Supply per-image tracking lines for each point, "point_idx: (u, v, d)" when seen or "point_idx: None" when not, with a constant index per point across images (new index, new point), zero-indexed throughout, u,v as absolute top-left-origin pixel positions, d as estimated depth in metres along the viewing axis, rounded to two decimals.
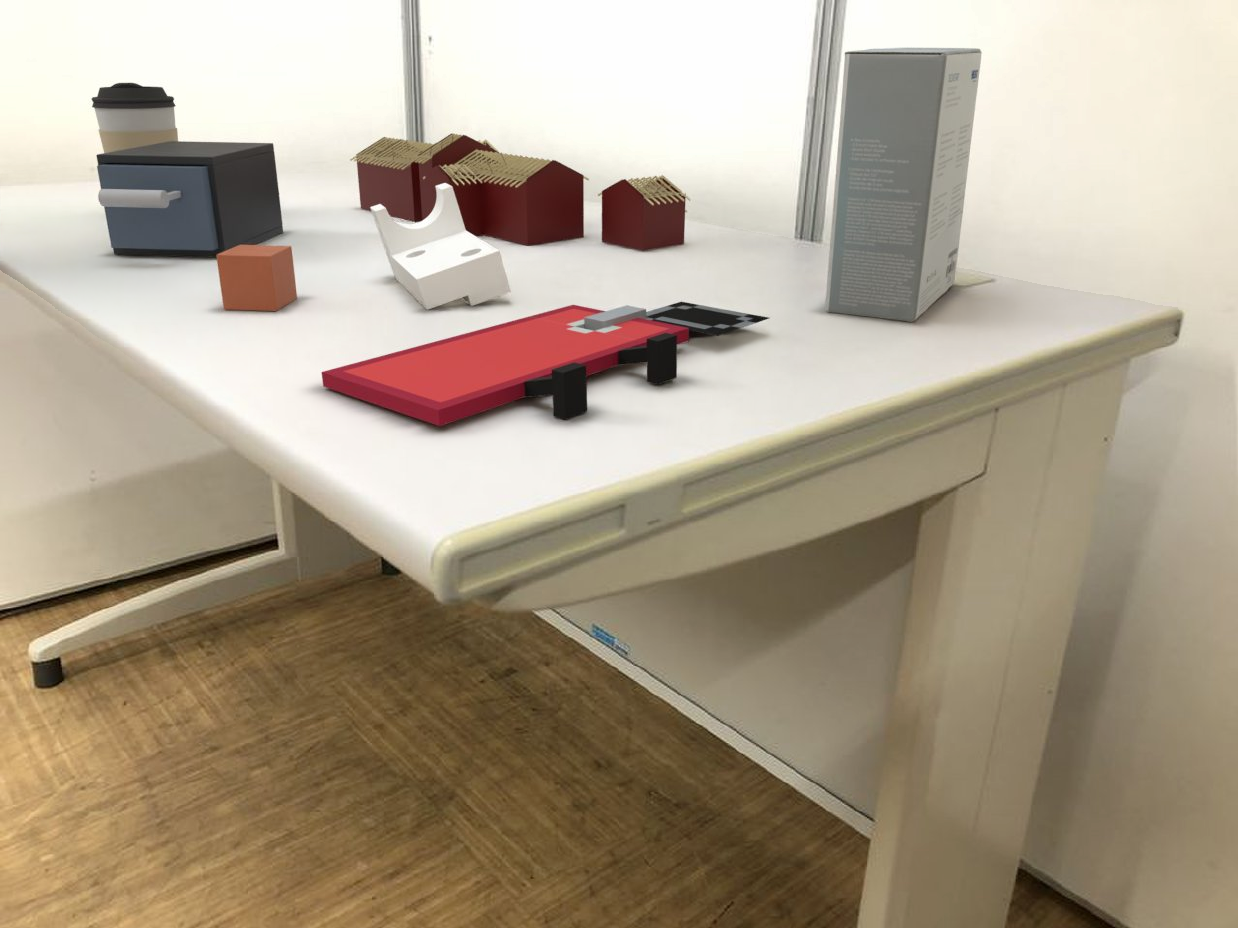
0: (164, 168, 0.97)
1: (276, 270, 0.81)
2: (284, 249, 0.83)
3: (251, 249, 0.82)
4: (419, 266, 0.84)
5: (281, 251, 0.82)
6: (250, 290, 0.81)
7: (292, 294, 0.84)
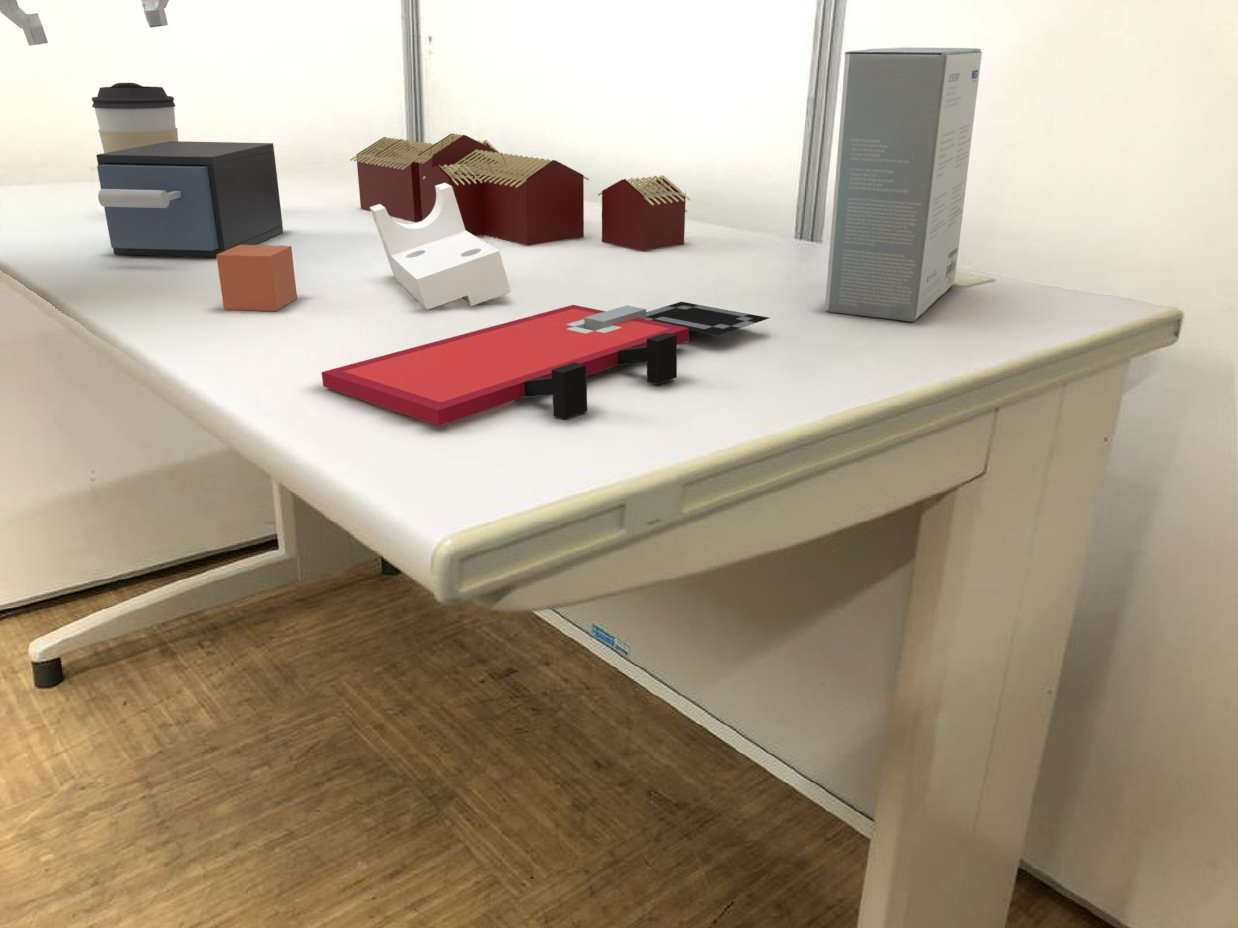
0: (164, 168, 0.97)
1: (276, 270, 0.81)
2: (284, 249, 0.83)
3: (251, 249, 0.82)
4: (419, 266, 0.84)
5: (281, 251, 0.82)
6: (250, 290, 0.81)
7: (292, 294, 0.84)
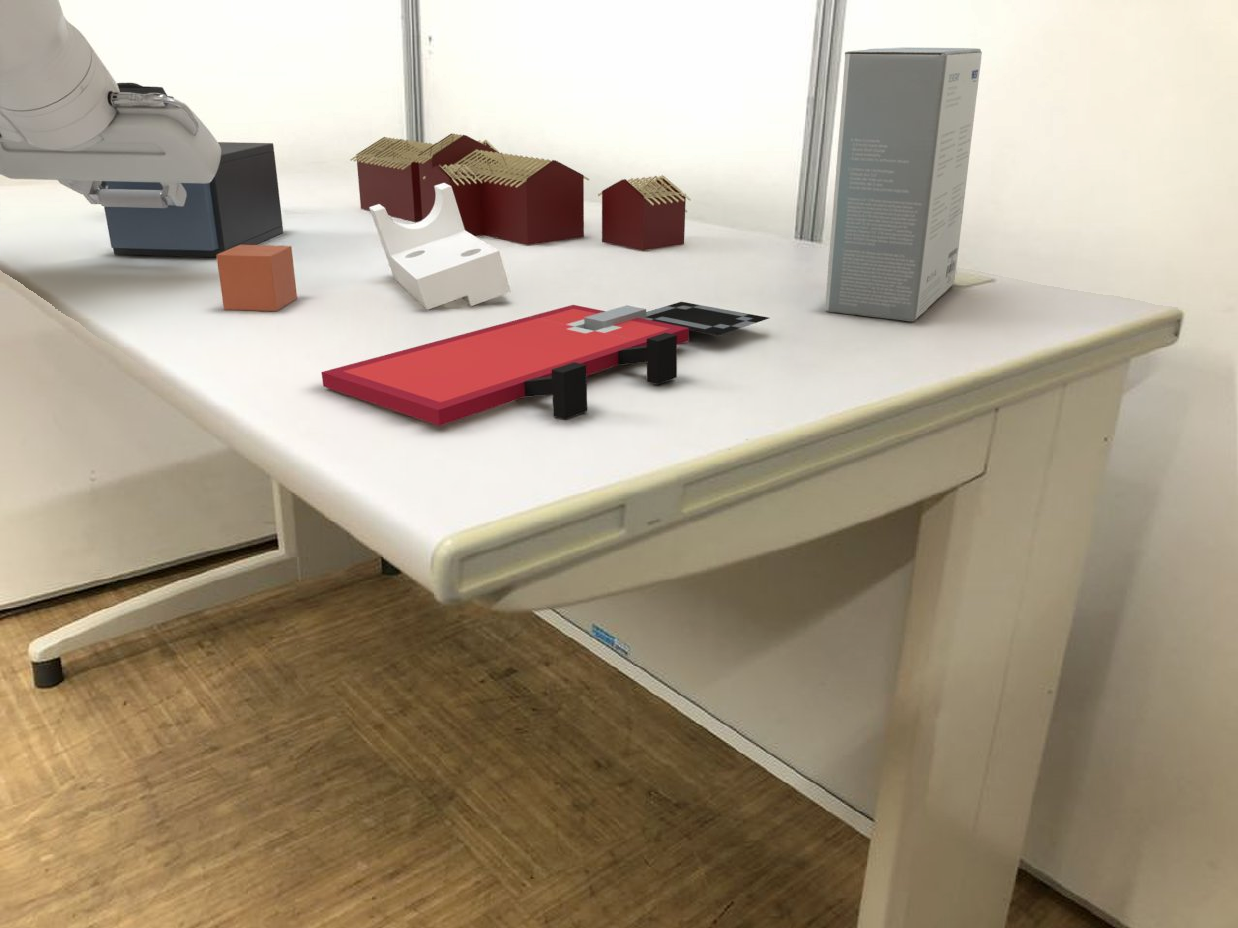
0: None
1: (276, 270, 0.81)
2: (284, 249, 0.83)
3: (251, 249, 0.82)
4: (419, 266, 0.84)
5: (281, 251, 0.82)
6: (250, 290, 0.81)
7: (292, 294, 0.84)
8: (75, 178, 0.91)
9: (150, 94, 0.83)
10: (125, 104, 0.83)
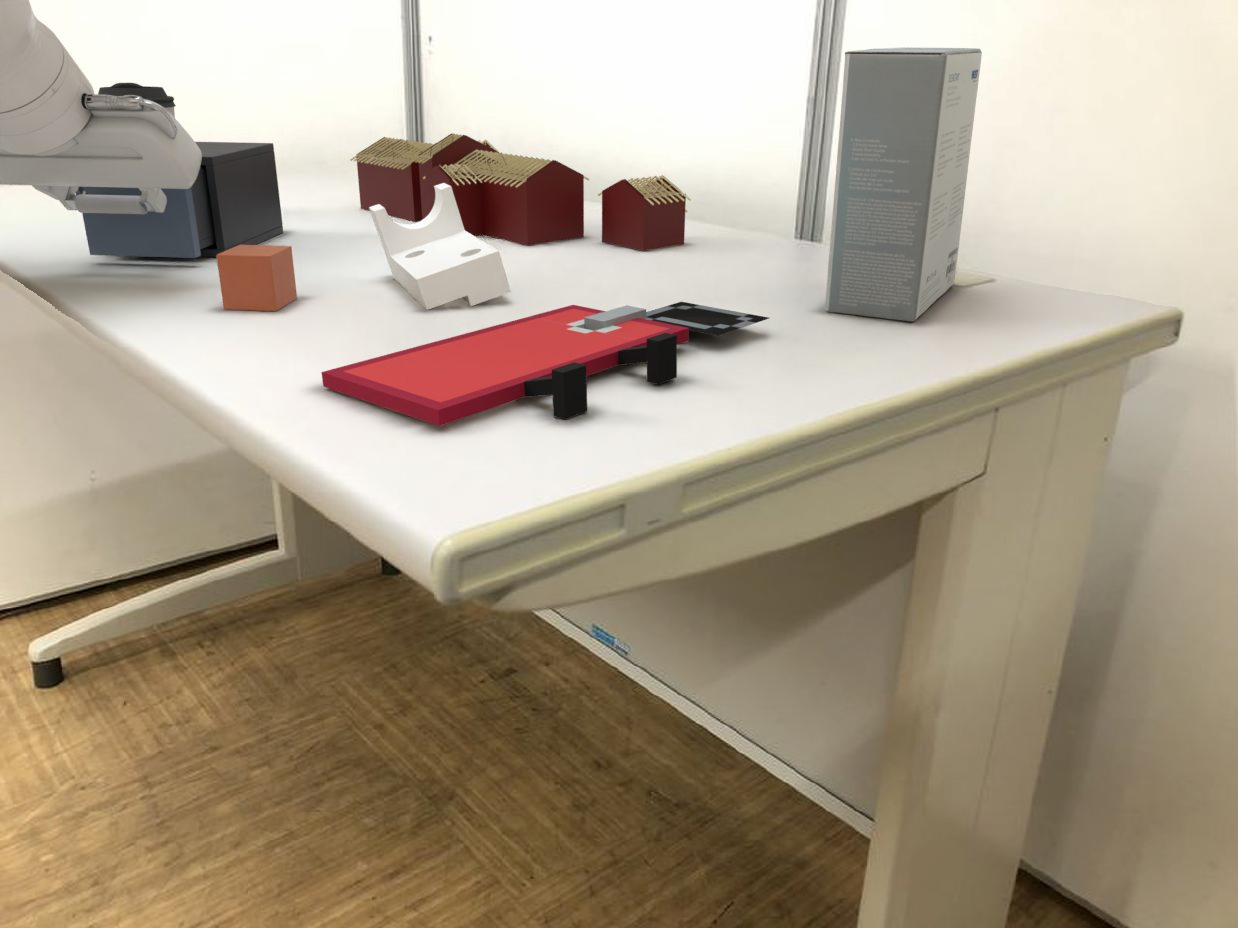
0: None
1: (276, 270, 0.81)
2: (284, 249, 0.83)
3: (251, 249, 0.82)
4: (419, 266, 0.84)
5: (281, 251, 0.82)
6: (250, 290, 0.81)
7: (292, 294, 0.84)
8: (50, 183, 0.87)
9: (126, 96, 0.79)
10: (100, 107, 0.80)
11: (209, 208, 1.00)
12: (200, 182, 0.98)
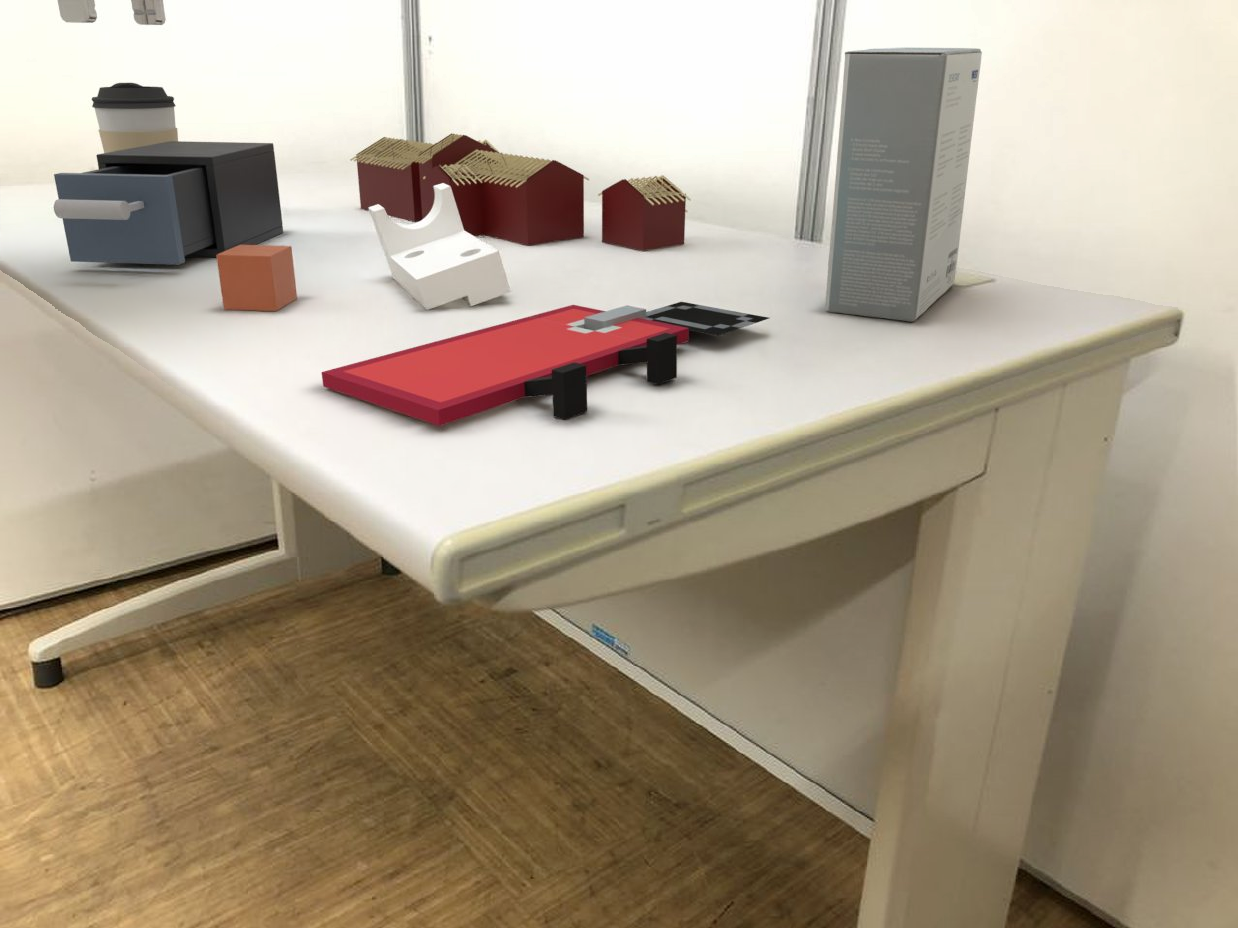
0: (125, 177, 0.91)
1: (276, 270, 0.81)
2: (284, 249, 0.83)
3: (251, 249, 0.82)
4: (418, 266, 0.84)
5: (281, 251, 0.82)
6: (250, 290, 0.81)
7: (292, 294, 0.84)
8: None
9: None
10: None
11: (194, 213, 0.97)
12: (184, 186, 0.95)
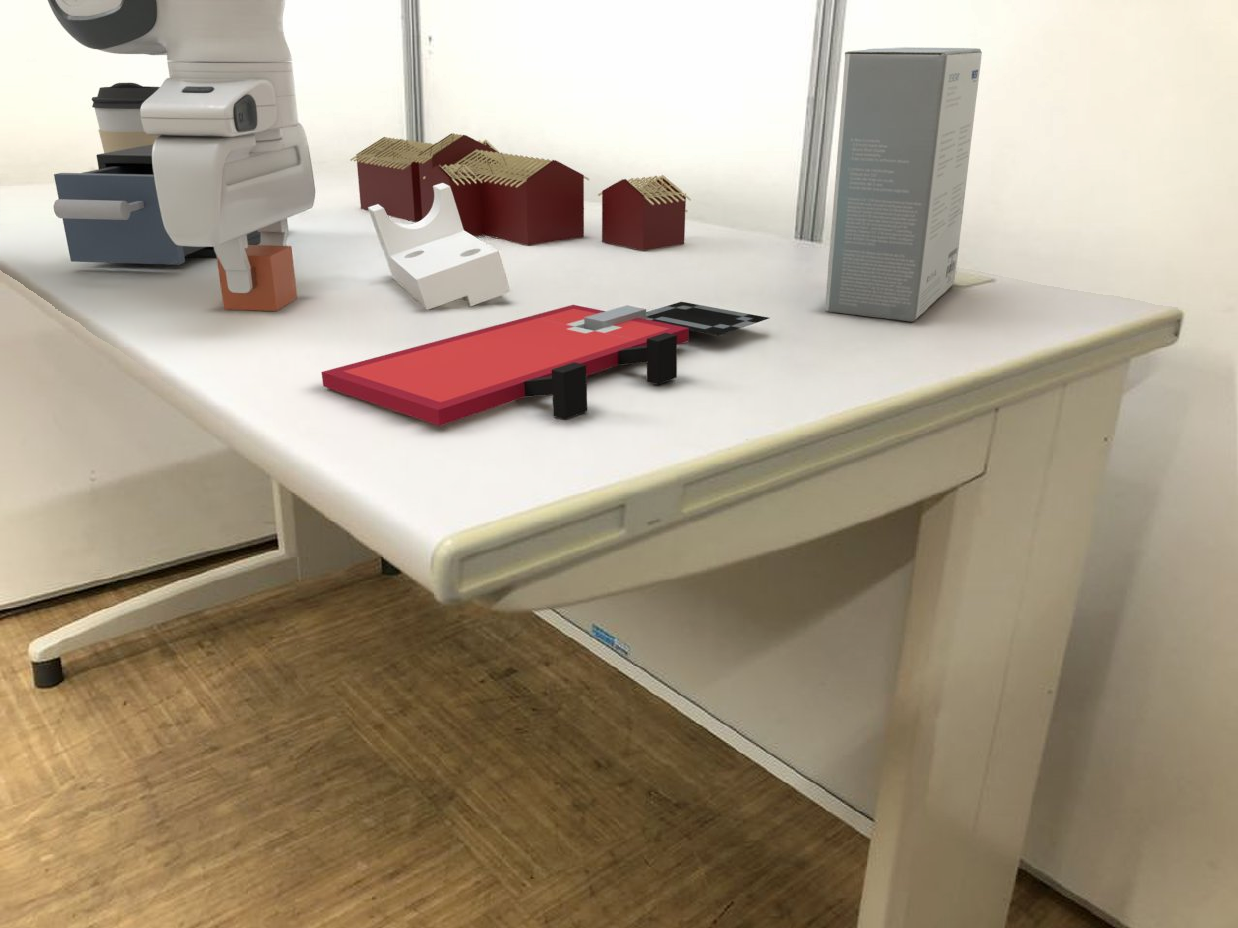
0: (125, 177, 0.91)
1: (276, 270, 0.81)
2: (284, 249, 0.83)
3: (251, 249, 0.82)
4: (418, 266, 0.84)
5: (281, 251, 0.82)
6: None
7: (292, 294, 0.84)
8: (256, 224, 0.78)
9: None
10: None
11: None
12: None
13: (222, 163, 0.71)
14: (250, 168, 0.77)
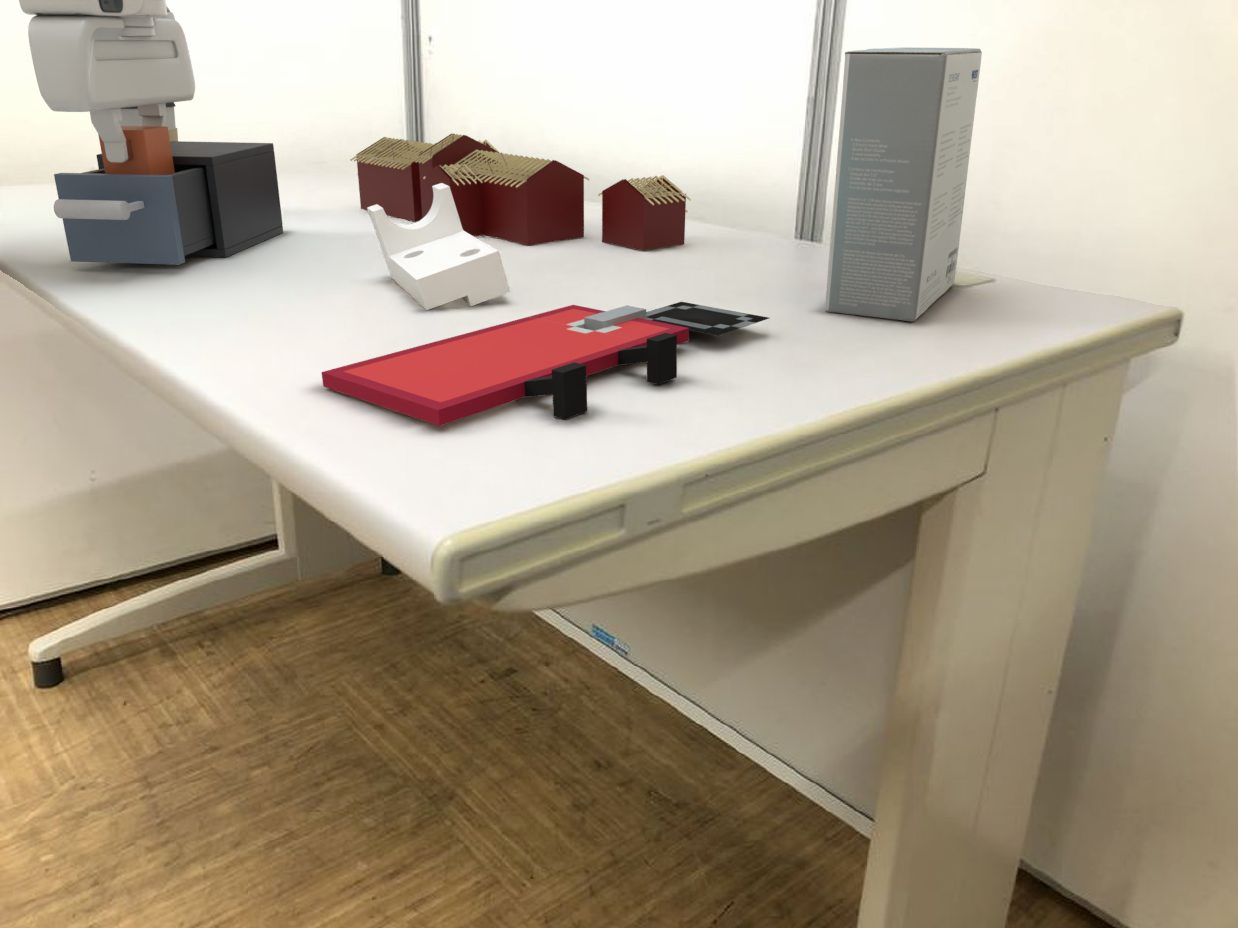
0: (125, 177, 0.91)
1: (151, 144, 0.93)
2: (160, 128, 0.95)
3: (130, 127, 0.94)
4: (418, 266, 0.84)
5: (156, 129, 0.94)
6: (128, 162, 0.93)
7: (169, 170, 0.96)
8: (129, 100, 0.90)
9: None
10: None
11: (194, 213, 0.97)
12: (184, 186, 0.95)
13: (88, 37, 0.83)
14: (122, 51, 0.89)
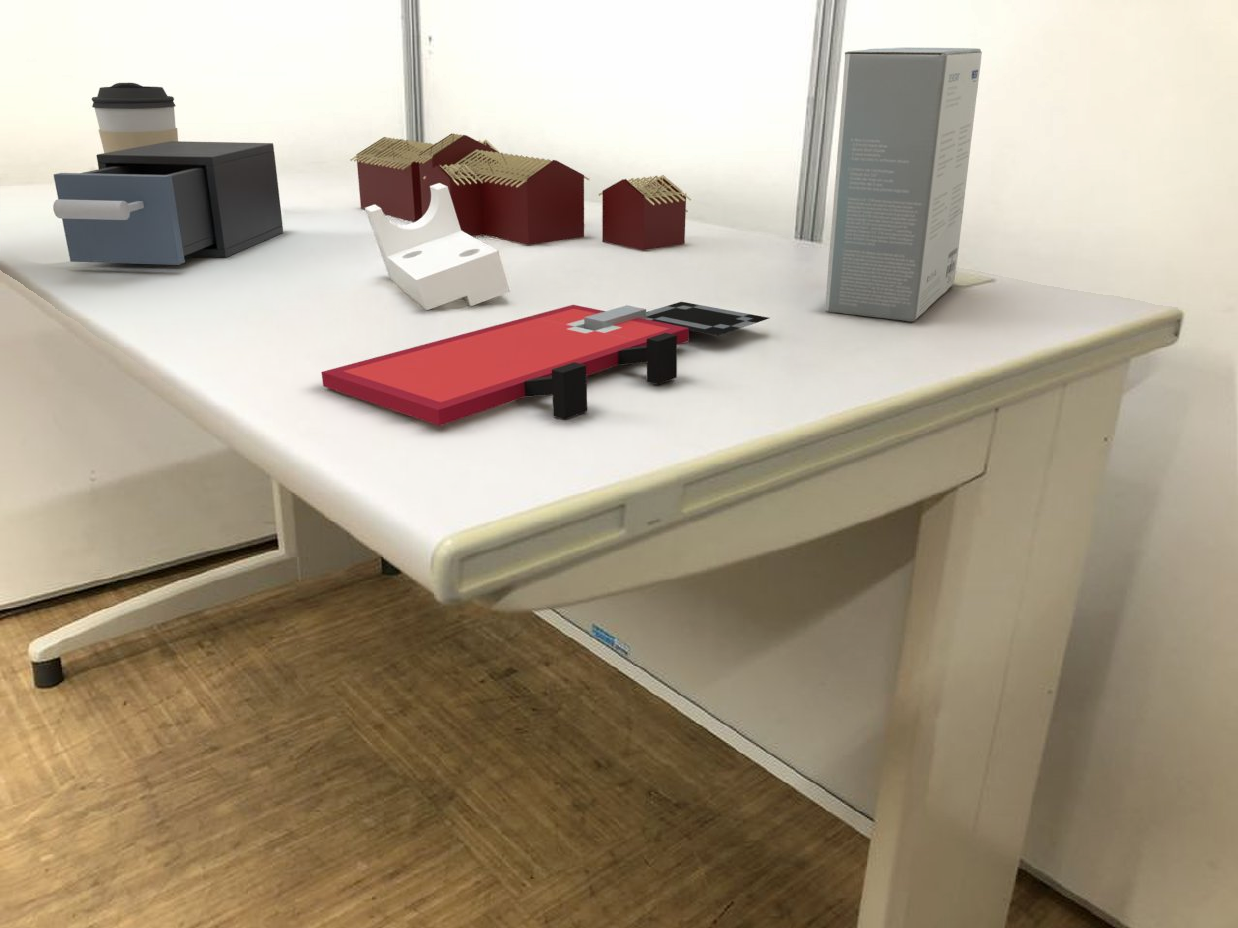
0: (125, 177, 0.91)
1: None
2: None
3: None
4: (417, 267, 0.84)
5: None
6: None
7: None
8: None
9: None
10: None
11: (194, 213, 0.97)
12: (184, 186, 0.95)
13: None
14: None
